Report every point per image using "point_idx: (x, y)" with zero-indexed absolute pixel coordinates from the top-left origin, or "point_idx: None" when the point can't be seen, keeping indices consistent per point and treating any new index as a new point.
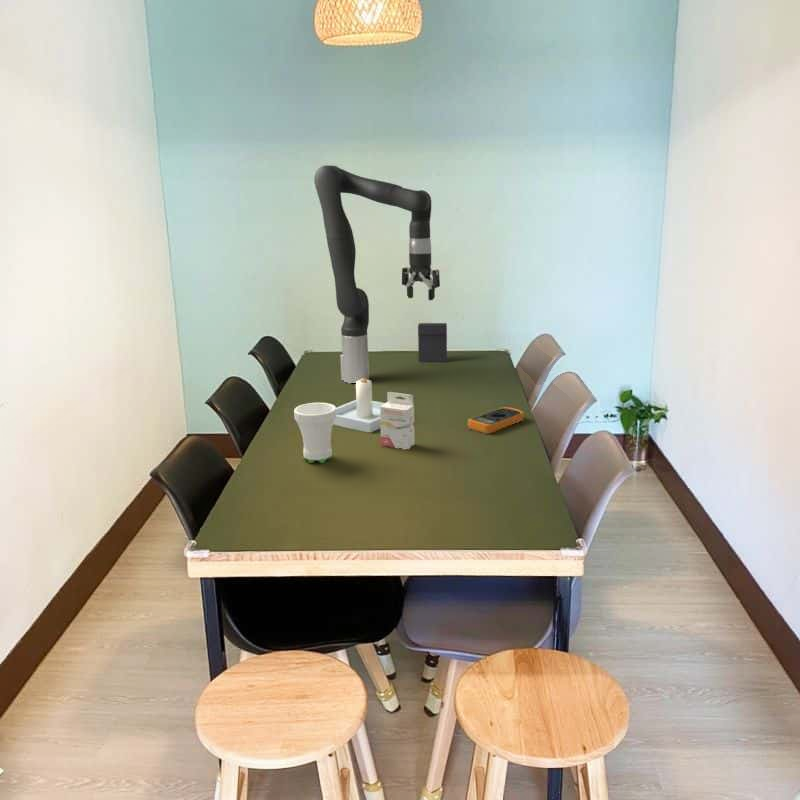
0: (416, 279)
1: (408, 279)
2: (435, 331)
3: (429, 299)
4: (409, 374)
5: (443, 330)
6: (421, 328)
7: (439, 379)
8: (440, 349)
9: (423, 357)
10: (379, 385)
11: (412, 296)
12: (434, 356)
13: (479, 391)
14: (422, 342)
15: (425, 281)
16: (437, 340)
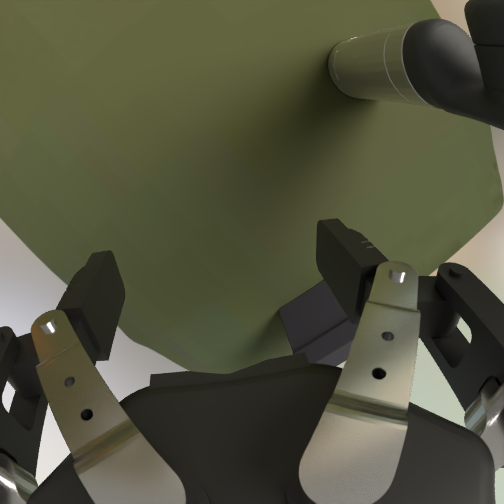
0: (281, 382)
1: (437, 362)
2: (318, 344)
3: (99, 252)
4: (286, 185)
5: None
6: (353, 330)
7: (192, 196)
8: (296, 321)
9: (324, 287)
10: (283, 62)
11: (319, 260)
12: (303, 303)
13: (57, 185)
14: (339, 308)
15: (61, 368)
16: (308, 332)
